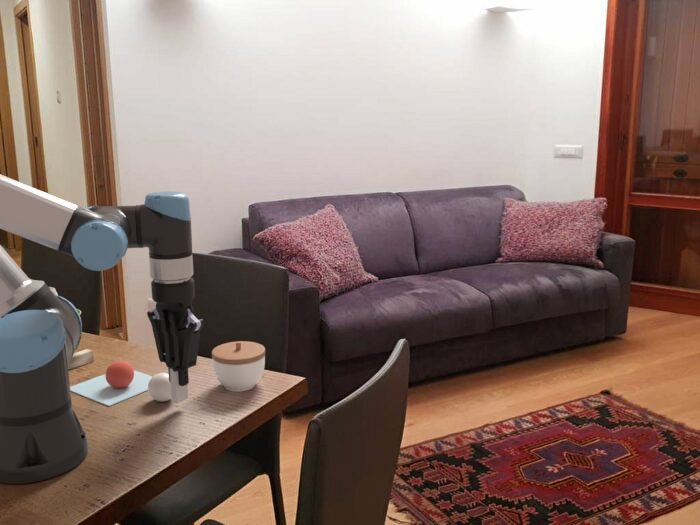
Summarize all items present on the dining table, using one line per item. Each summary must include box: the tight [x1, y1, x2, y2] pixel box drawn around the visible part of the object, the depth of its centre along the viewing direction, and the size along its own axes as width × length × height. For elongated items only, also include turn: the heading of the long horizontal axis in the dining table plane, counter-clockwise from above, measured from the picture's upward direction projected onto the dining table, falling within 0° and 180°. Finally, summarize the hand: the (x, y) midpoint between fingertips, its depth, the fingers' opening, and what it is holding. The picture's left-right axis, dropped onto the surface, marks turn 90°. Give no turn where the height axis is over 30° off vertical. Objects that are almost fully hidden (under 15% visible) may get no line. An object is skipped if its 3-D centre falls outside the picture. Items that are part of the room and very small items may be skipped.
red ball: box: [104, 360, 134, 388], centre depth 135 cm, size 6×6×6 cm
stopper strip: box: [68, 348, 95, 370], centre depth 145 cm, size 11×2×2 cm, turn 145°
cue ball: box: [148, 372, 172, 402], centre depth 129 cm, size 6×6×6 cm
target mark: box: [70, 369, 153, 407], centre depth 136 cm, size 14×14×1 cm
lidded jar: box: [211, 340, 266, 393], centre depth 135 cm, size 11×11×9 cm
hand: (180, 399), depth 125 cm, fingers closed
